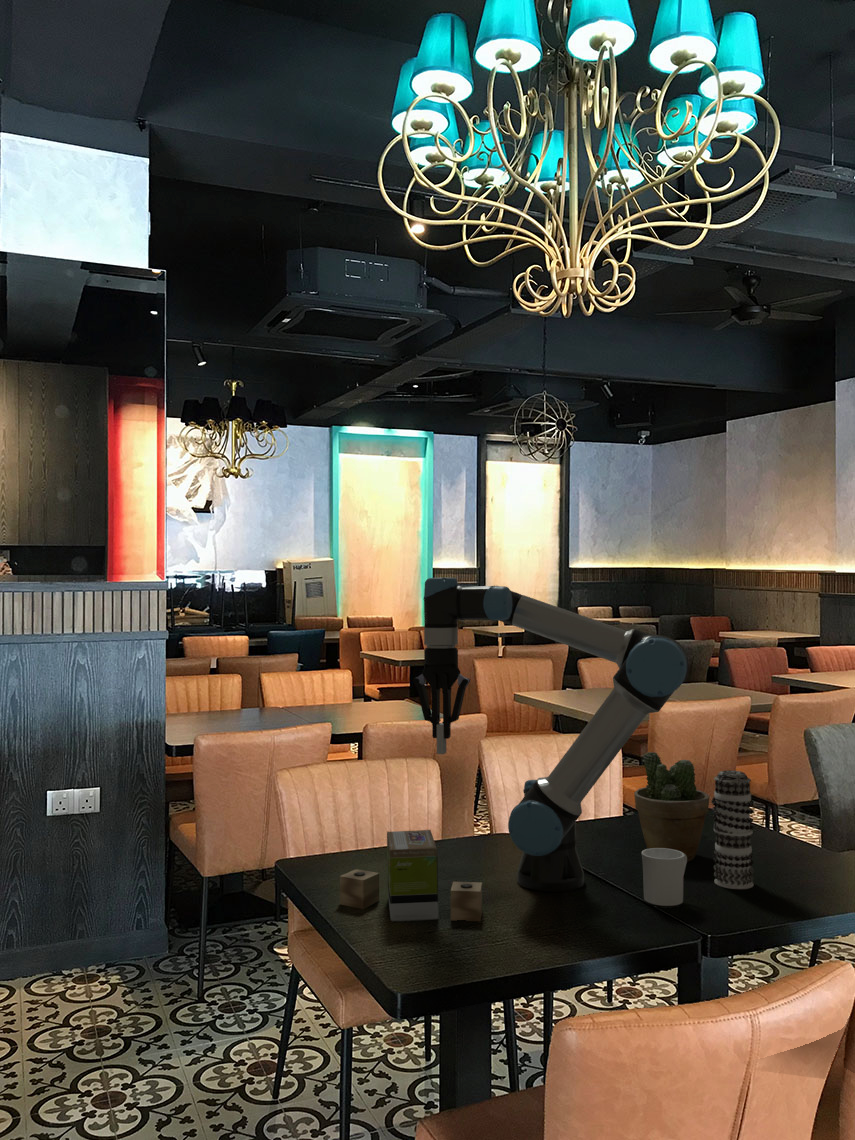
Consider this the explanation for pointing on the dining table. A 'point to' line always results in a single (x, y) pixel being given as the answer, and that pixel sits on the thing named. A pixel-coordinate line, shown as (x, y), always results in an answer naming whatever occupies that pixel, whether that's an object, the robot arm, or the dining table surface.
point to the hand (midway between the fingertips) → (441, 753)
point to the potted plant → (671, 806)
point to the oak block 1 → (359, 888)
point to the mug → (663, 876)
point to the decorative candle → (733, 830)
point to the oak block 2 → (466, 901)
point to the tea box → (412, 875)
